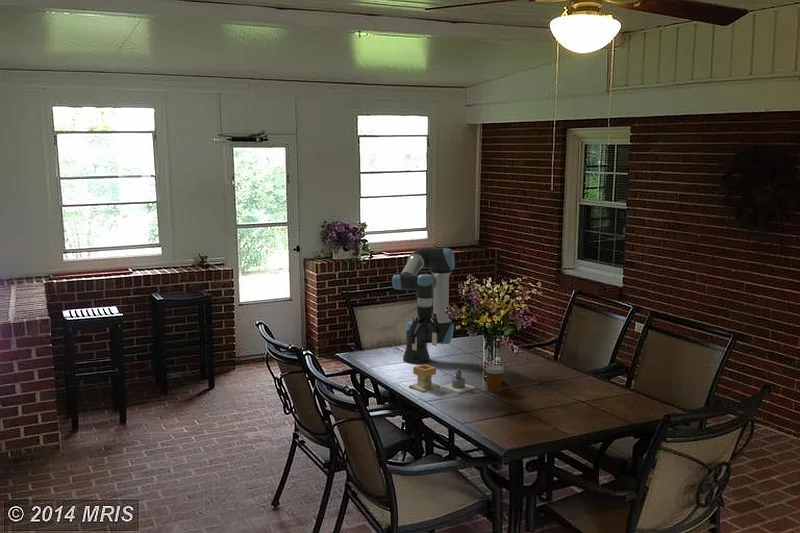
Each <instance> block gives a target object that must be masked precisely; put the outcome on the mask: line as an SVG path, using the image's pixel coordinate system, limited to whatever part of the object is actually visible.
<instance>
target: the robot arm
mask: <svg viewBox="0 0 800 533" xmlns="http://www.w3.org/2000/svg"><path fill="white" fill-rule="evenodd" d="M455 262H456V260H455V255H454V252H453V250H452V249H451V248H446V247H423V248H420V249H417V250H415V251H414V252H412V253H411V254H410V255H409V256H408V257H407V259H406V264H405V266H404V268H403V269H402V271H401V273H400V274H399V273H398V274H393V276H392V282H391V284H392V288H393V289H394V290H401V291H403V290H404V291H407V290H408V291H417V297H416V298H417V301H416V302H417V308H416V309H417V310H416V312H417V316H413V317H412V320H408V321H407V323H406V328H405V331H406V333H405V334H406V338H405V339H406V340H405V341H406V342H405V343H406V345H405V350H404V354H403V356H402V360H403V362H404V363H409V364H426V363H428V362H430V360H431V359H430V357H431V356H430V354H429V350H428V347H427V346H428V345H427V344H431V345H432V346H435V347H437V346H438V344H439V345H440V344H441V345H449V344H451V343H452V340H453V335H454V330H455V326H454V325H455V324H454V323H452V320H451V318H449V314H448V315H446V314H445V309H446V308H447V307H450V306H449V305H450V304H449V303H450V302H449V298H450V289H449V288H450V276H451V274H452V273H453V270H455V267H456V263H455ZM421 269H422V270H423V269H424V270H425V269H427V270H428V269H429V270H430V273H431V274H429V273H428V274H427V273H421V274H419V275H418V273H419V271H421Z"/></svg>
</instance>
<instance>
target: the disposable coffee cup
mask: <svg viewBox="0 0 800 533" xmlns="http://www.w3.org/2000/svg"><path fill="white" fill-rule="evenodd" d="M484 371H485V376H486V377H485V378H486V384H487V392H490V393H494V394H495V393H500V392H501V389H502V384H503V376H504V373H505V369H504V366H503V365H500V364H499V365H498V364H489V365H486V366H485V368H484Z"/></svg>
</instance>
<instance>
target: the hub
mask: <svg viewBox="0 0 800 533" xmlns="http://www.w3.org/2000/svg"><path fill="white" fill-rule="evenodd" d="M440 388H441V389H444V390H446V391H449V392H453V393H455V394H458V395H459V394H462V393H466V392H469V391H473V390H475V389H476V386H473V385H470V384H467V383H466V378H465V377H462V370H461V368H456V370H455V377H452V378H451V383H448V384H444V385H440Z"/></svg>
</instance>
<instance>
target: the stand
mask: <svg viewBox="0 0 800 533" xmlns="http://www.w3.org/2000/svg"><path fill="white" fill-rule="evenodd" d="M422 369H427V368H422ZM432 376H433V375H432ZM432 376H428V377H421V376H418V375H417V382H416V383H415V384H411V385H408V388H409V389H411V390H414V391H418V392H420V393H426V392H429V391H433V390H436V389H440V388H441V385H439V384H436V383H433V382H432V379H433V377H432Z"/></svg>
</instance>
